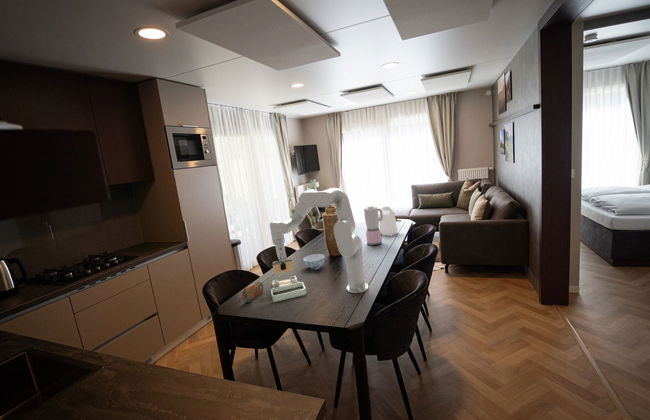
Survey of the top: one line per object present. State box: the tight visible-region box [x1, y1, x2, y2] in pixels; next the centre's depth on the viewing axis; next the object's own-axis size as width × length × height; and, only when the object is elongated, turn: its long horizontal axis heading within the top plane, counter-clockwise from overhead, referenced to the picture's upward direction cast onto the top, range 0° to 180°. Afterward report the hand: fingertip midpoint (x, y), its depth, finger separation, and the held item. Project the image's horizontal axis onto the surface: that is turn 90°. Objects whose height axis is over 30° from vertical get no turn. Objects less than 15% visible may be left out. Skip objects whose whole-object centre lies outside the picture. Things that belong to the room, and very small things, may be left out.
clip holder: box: [271, 275, 299, 288], centre depth 193 cm, size 12×16×4 cm
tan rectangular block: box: [271, 257, 294, 275], centre depth 191 cm, size 3×12×7 cm, turn 105°
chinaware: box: [303, 253, 325, 271], centre depth 217 cm, size 15×15×8 cm
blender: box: [363, 205, 383, 247], centre depth 253 cm, size 16×12×32 cm
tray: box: [270, 281, 308, 303], centre depth 179 cm, size 12×20×3 cm, turn 105°
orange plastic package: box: [241, 281, 264, 303], centre depth 180 cm, size 15×3×8 cm, turn 148°
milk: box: [378, 205, 398, 237], centre depth 279 cm, size 12×12×26 cm
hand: (283, 268), depth 192 cm, fingers closed on tan rectangular block, 3 cm apart
